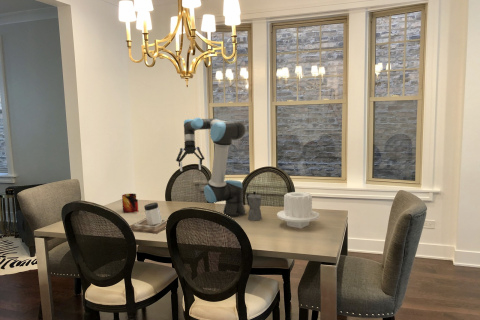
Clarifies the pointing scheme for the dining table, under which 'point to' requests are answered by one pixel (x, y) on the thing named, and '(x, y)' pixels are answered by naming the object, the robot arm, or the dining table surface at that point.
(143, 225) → the board
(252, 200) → the coffeepot
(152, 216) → the jar
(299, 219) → the ribbed cylinder on disc
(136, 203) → the mug
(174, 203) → the dining table surface
